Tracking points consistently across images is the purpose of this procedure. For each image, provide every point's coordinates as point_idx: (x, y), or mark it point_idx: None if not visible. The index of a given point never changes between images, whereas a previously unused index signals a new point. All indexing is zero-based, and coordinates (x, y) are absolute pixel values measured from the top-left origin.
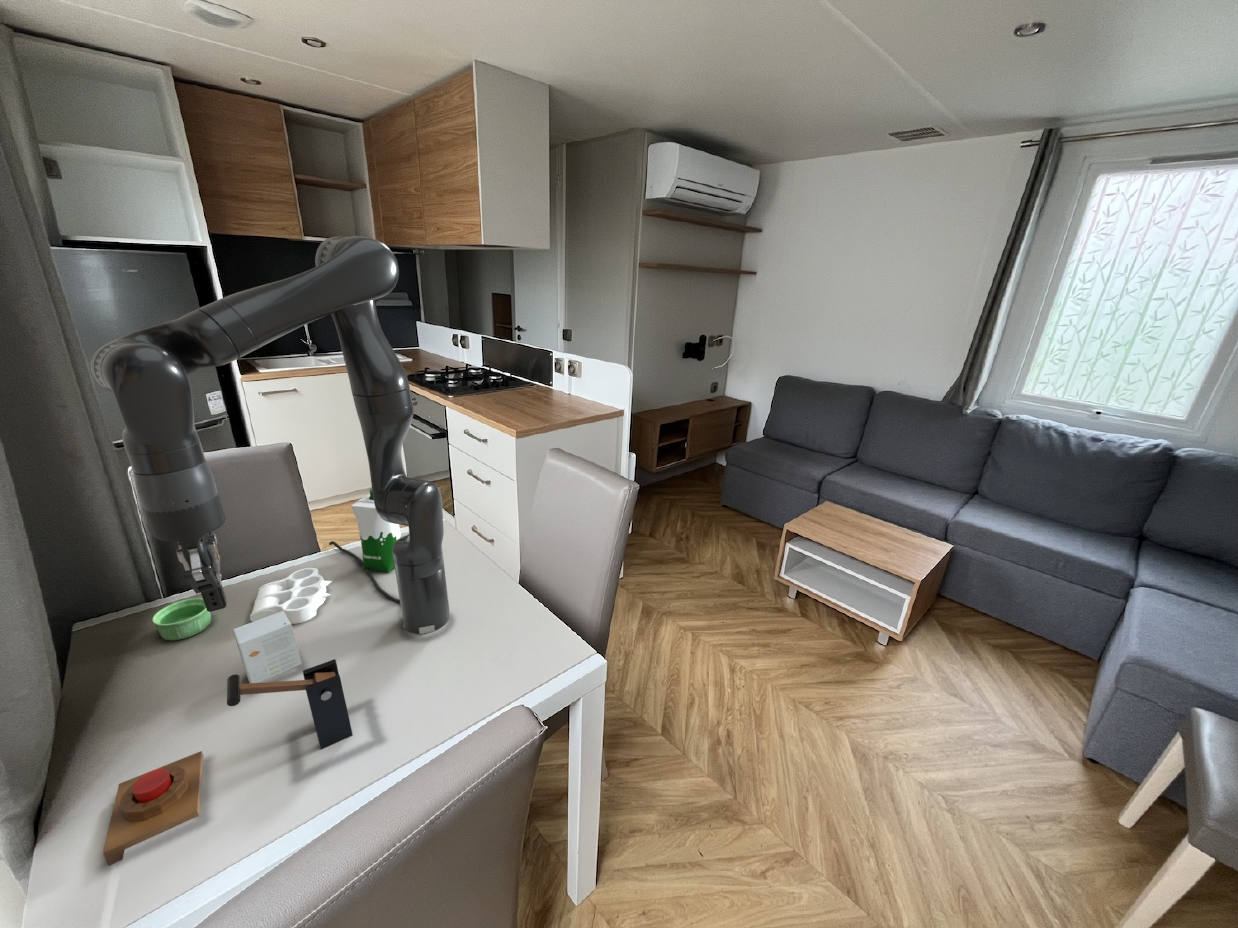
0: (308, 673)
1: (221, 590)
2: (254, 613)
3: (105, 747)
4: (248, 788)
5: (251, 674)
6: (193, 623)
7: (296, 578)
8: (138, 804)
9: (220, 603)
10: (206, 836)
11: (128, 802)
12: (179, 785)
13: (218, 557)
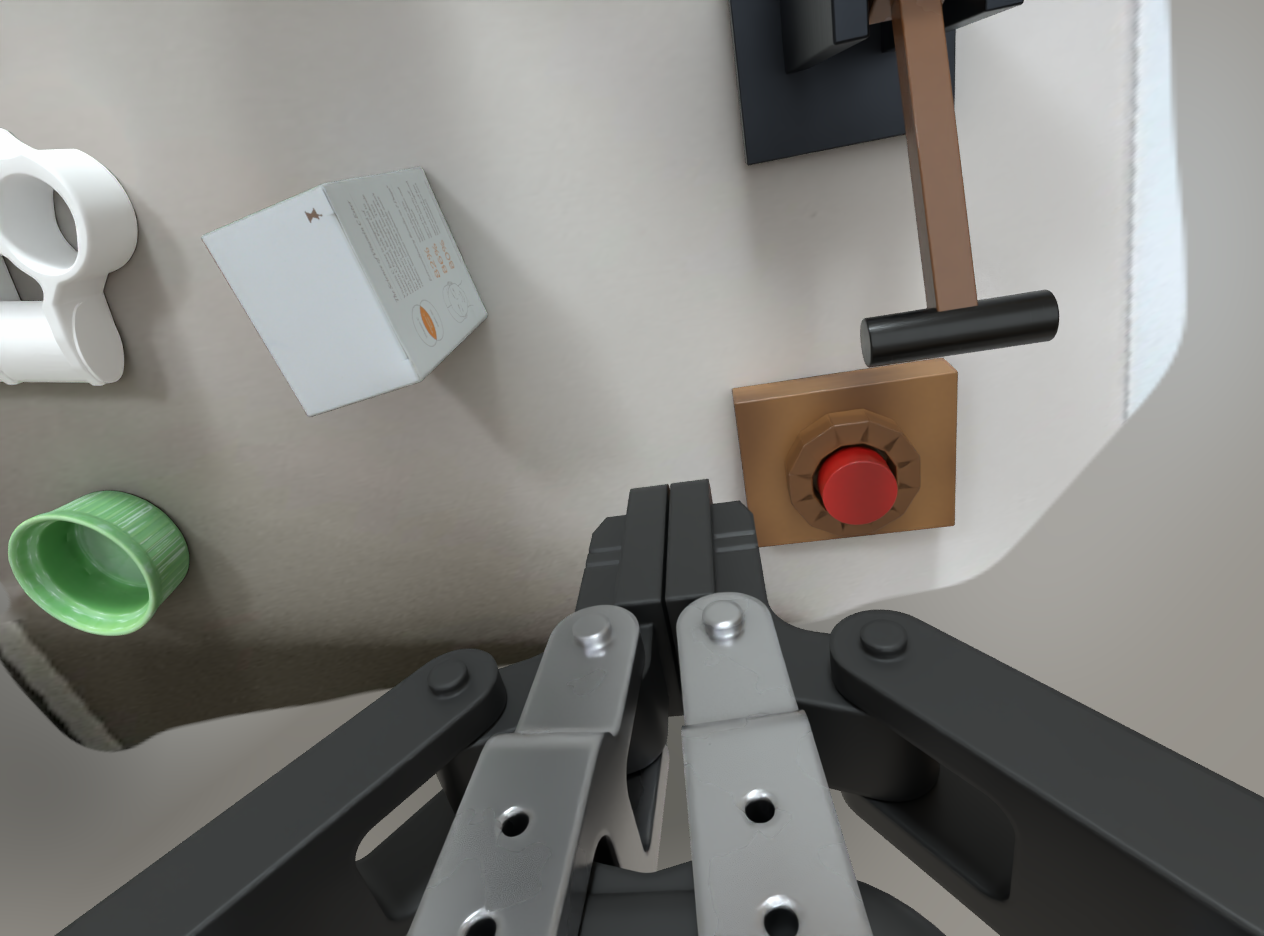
0: (868, 11)
1: (713, 560)
2: (92, 372)
3: (573, 594)
4: (895, 265)
5: (466, 325)
6: (138, 534)
7: None
8: None
9: (754, 522)
10: None
11: None
12: (883, 427)
13: (587, 823)
